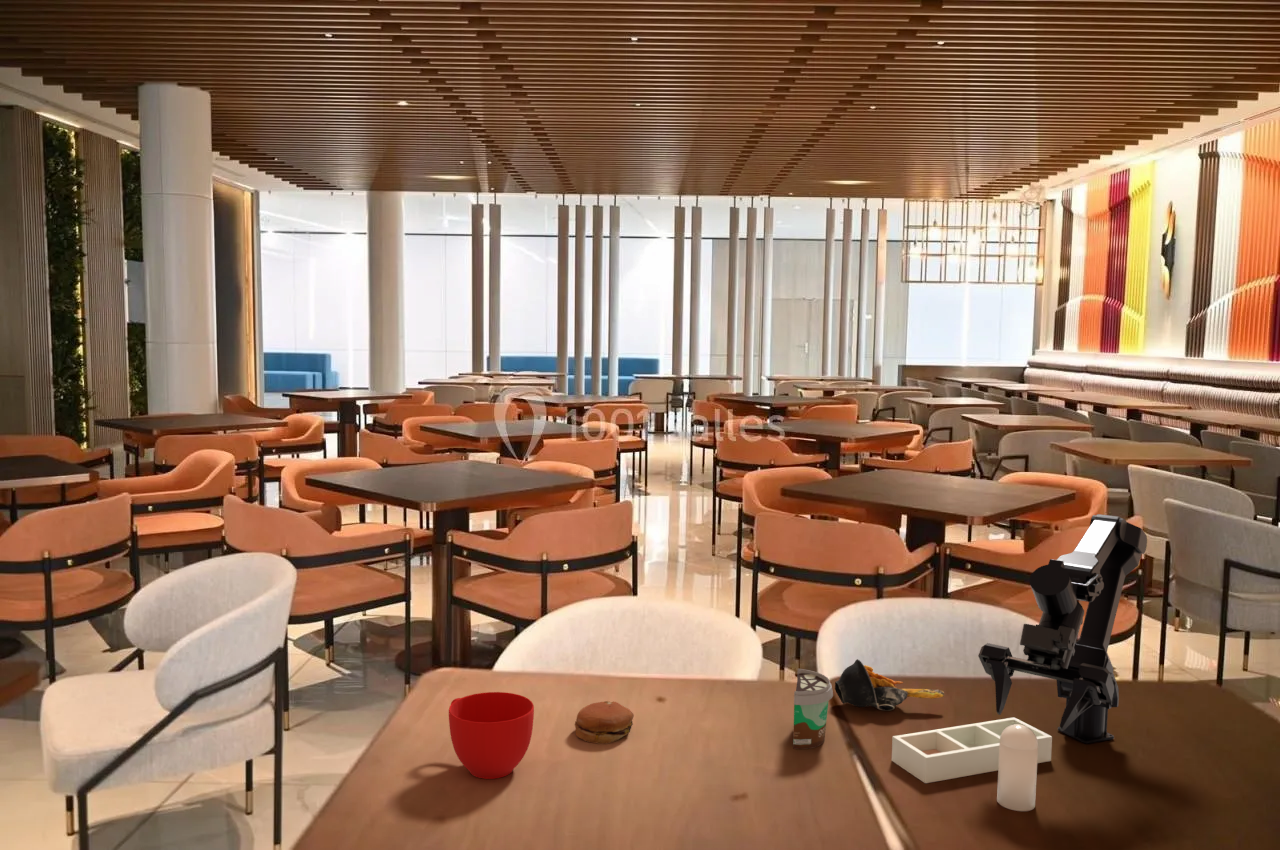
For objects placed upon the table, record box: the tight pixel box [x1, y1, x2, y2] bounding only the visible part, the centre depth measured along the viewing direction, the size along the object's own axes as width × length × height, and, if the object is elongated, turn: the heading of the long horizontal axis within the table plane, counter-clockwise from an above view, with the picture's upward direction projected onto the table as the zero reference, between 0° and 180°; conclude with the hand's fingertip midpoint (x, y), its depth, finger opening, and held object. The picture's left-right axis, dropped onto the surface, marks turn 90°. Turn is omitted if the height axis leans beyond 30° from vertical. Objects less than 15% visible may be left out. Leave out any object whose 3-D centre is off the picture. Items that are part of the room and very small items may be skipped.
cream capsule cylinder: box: [996, 724, 1038, 812], centre depth 146 cm, size 5×5×12 cm
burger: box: [574, 700, 635, 745], centre depth 170 cm, size 10×9×5 cm
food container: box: [792, 668, 834, 750], centre depth 168 cm, size 12×6×10 cm, turn 168°
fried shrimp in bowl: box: [834, 659, 945, 711], centre depth 184 cm, size 9×11×18 cm
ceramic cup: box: [448, 691, 535, 780], centre depth 156 cm, size 13×17×10 cm
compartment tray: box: [891, 717, 1053, 784], centre depth 161 cm, size 24×9×4 cm, turn 111°
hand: (1029, 721), depth 149 cm, fingers open, 9 cm apart
